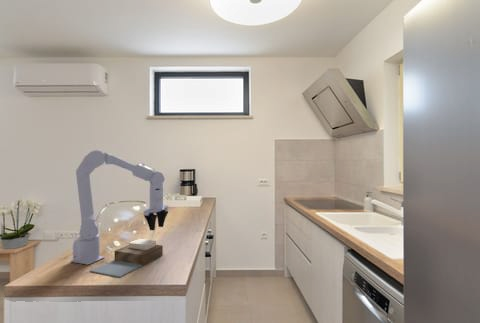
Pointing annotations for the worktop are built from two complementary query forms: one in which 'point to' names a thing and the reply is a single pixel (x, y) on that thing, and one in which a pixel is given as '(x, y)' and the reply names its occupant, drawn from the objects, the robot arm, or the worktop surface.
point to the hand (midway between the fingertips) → (156, 228)
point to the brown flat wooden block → (138, 254)
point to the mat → (116, 268)
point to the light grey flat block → (142, 244)
